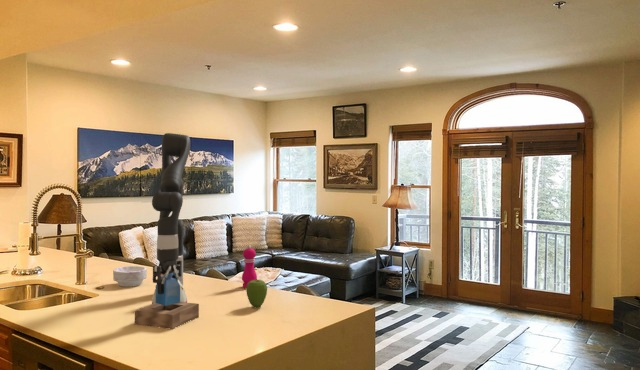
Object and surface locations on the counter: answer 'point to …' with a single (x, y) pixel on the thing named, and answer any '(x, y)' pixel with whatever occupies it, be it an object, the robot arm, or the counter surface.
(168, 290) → the perfume bottle
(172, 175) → the robot arm
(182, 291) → the kitchen timer
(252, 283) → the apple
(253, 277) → the pepper mill
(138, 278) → the paper bowls
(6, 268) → the counter surface
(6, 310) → the counter surface
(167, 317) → the holder block
